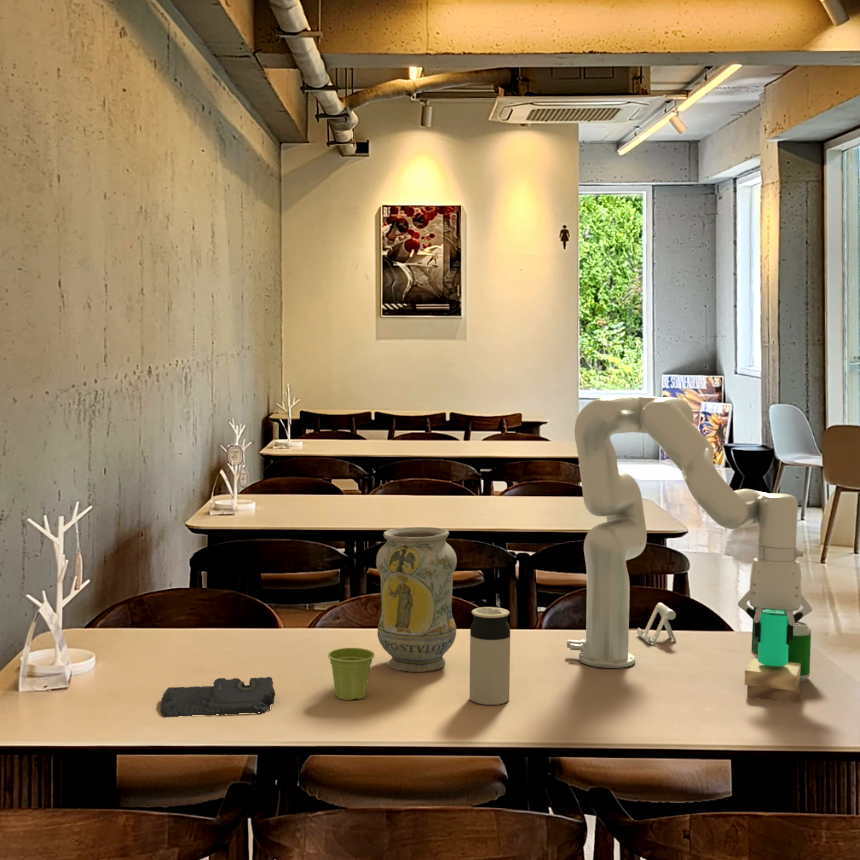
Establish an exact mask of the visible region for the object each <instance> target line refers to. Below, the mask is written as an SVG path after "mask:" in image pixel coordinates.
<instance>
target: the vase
mask: <svg viewBox="0 0 860 860" xmlns="http://www.w3.org/2000/svg"><path fill="white" fill-rule="evenodd" d="M449 535H450V532H449V530H448V529H445V528H441V527H433V526H432V527H431V526H410V527H408V526H407V527H399V528H398V527H397V528H391V529H387V530H386V531H384V532H383V538H384V539H385V540H386V543H384V544H383V545H382V546H381V547H380V548H379V550H378V551H377V554H376V558H375V564H376V569H377V572H378V573H379V575H380V576H379V577H380V597H381V599H380V600H381V615H380V619H379V621H378V625H377V634H376V635H377V639H378V641H379V644H380V645H381V646H382V647H381V648H382V649H383V650H384V651H385V652H386V653H387V654H388V655H389V656H391V659H390V660H389V661H388V663H387V664H388V667H390V668H391V669H393V670H395V669H397V670H396V671H400V670H401V672H406V671H408V672H407V673H426V672H425V671H428V672H432V671H437V669H438V670H441V669H442V668H444V667H445V665H446V659H444V655H445V654H446V652H447V653H448V651H449V650H450V648H451V647H452V646H453V644H454V642H455V640H456V638H457V637H456V635H457V625H456V622H455V619H454V617H453V613H452V612H453V611H452V609H453V608H452V601H453V587H454V586H453V581H454V580H453V578H454V577H453V575H454V572H455V570H456V568H457V563H458V562H457V560H458V559H457V554H456V552H455V550H454V548H452V546H451V545H450V544H449V543H447V541H446V540H447V538H448V537H449ZM440 668H441V669H440Z"/></svg>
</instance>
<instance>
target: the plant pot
mask: <svg viewBox="0 0 860 860" xmlns="http://www.w3.org/2000/svg"><path fill="white" fill-rule="evenodd" d="M327 657H328V658H329V661H330V662H329V663H330V665H331V670H332V676H333V678H332V679H333V686H334V693H335V694H334V695H335V697H337V698H338V699H340V700H343V701H344V700H345V701H353V700H355V699H356V700H361V698H362V699H363V698H365V697H366V696H367V689H368V684H369V683H368V681H369V675H370V669H371V665H372V662H373V659H374V657H375V653H374V651H372V650H370V649H365V648H360V647H345V648H344V647H343V648H337V649H333V650H331V651H329V652H327Z"/></svg>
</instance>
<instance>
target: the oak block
mask: <svg viewBox="0 0 860 860" xmlns="http://www.w3.org/2000/svg"><path fill="white" fill-rule="evenodd" d="M800 667H801V663H792V662H788V664H787V665H785V666H769V665H764V664H761V663H759V662H758V658H753V657H750V659H749V661H748V663H747V665H746V668H745V670H744V686H747V685H750V686H759V687H767V688H776V689H784V690H793V691H796V690H797V687H798V683H799V684H800V682H799V680H800Z"/></svg>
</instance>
